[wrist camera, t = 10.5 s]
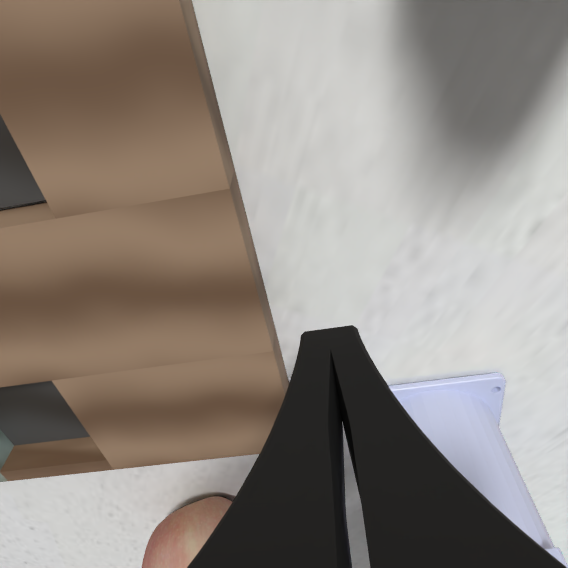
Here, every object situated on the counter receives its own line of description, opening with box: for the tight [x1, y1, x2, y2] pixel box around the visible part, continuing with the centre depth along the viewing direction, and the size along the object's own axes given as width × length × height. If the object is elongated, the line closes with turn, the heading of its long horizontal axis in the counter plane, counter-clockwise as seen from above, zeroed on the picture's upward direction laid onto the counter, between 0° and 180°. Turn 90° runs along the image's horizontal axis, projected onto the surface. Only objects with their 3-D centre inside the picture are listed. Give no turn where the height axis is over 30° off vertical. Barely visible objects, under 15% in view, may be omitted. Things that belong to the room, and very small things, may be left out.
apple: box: [142, 496, 232, 568], centre depth 30 cm, size 8×8×8 cm
